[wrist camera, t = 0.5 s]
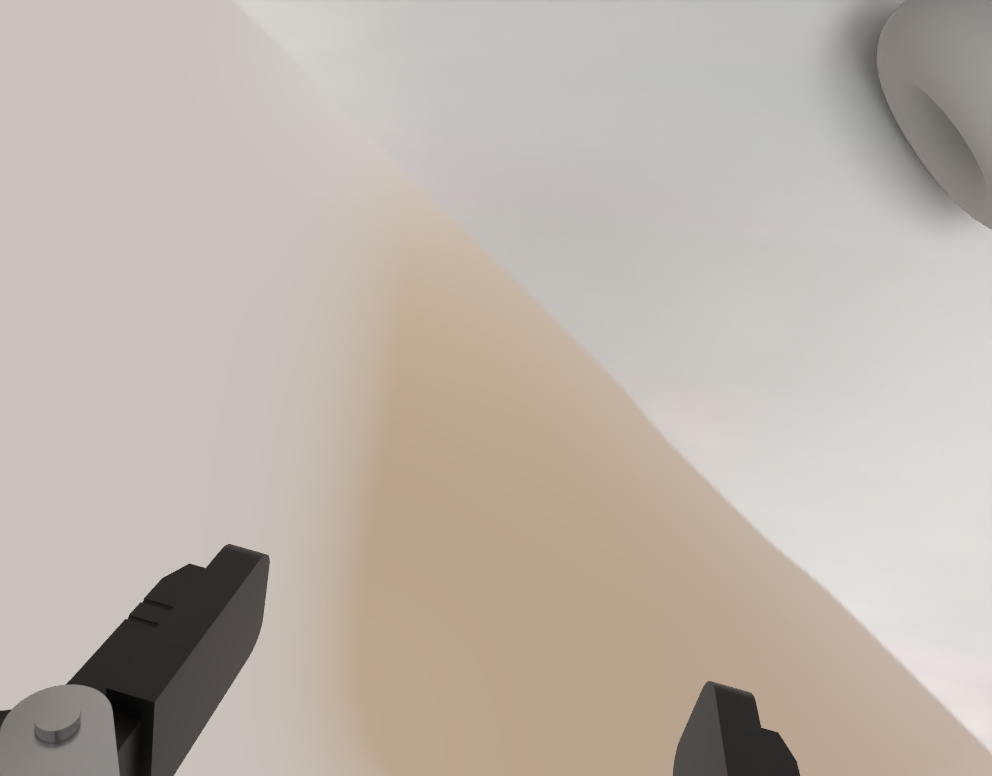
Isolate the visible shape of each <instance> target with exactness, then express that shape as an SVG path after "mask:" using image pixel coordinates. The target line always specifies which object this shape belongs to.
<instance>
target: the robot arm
mask: <svg viewBox="0 0 992 776" xmlns="http://www.w3.org/2000/svg"><path fill="white" fill-rule="evenodd" d="M269 563H270V561H269V556H268V555H266V554H263V553H259V552H256V551H252V550H249V549H245V548H242V547H238V546H234V545H231V544H228V545H226V546H224V547H223V548H222V550H221V551H220V552H219V553H218V554H217V555H216V557H215V558H214V559H213V560H212V561H211V563H210V564H209V565H208V566H207V567H206V568H203V567H199V566H196V565H192V564H188V565H186V566H184V567H182V568H180V569H179V570H177V571H175V572H173V573H171V574H169V575H168V576H166V577H164V578H162V579H161V580H160V581H159V583H158V584H157V585H156V586H155V587H154V588H153V589H152V590H151V591H150V593H149V594H148V595H147V596H146V597H145V598H144V601H143V603H140V604H139V605H138V606H137V607H136V608H135V609H134V610H133V611H132V612H131V614H130V615H129V618H128V619H127V620H126V619H125V620H124V621H123V622H122V624H121V625H120V626H119V627H118V628H117V629H116V630H115V631H114V632H113V634H112V635H111V636H110V637H109V638H108V639H107V640H106V641H105V642H104V643H103V645H102V646H101V647H100V648H99V649H98V650H97V651H96V652H95V654H94V655H93V656H92V657H91V658H90V659H89V660H88V661H87V662H86V663H85V665H84V666H83V667H82V668H81V669H80V670H79V671H78V672H77V673H76V674H75V676H74V677H73V678H72V679H71V680H70V681H69V682H68V683H67V684H66V685H60V686H54V687H50V688H46V689H44V690H41V691H38V692H36V693H34V694H32V695H30V696H28V697H27V698H25V699H24V700H22V701H21V702H20V703H18V704H17V705H16V706H15V707H14V708H13V709H12V710H5V711H0V776H174V774H175V773H176V771H177V769H178V768H179V766H180V765H181V763H182V761H183V760H184V758H185V757H186V755H187V754H188V752H189V750H190V749H191V747H192V745H193V744H194V743H195V741H196V739H197V738H198V736H199V735H200V733H201V731H202V730H203V728H204V727H205V725H206V724H207V722H208V721H209V719H210V717H211V716H212V714H213V713H214V711H215V710H216V708H217V706H218V705H219V703H220V702H221V700H222V699H223V697H224V695H225V694H226V692H227V691H228V689H229V688H230V686H231V684H232V682H233V681H234V679H235V678H236V676H237V675H238V673H239V672H240V670H241V669H242V667H243V665H244V664H245V662H246V661H247V659H248V658H249V656H250V654H251V652H252V650H253V648H254V646H255V644H256V641H257V639H258V636H259V633H260V629H261V626H262V621H263V614H264V605H265V597H266V589H267V580H268V572H269ZM673 776H800V773H799V769H798V766H797V761H796V760H795V758H794V757H793V755H792V754H791V752H790V750H789V749H788V747H787V746H786V744H785V743H784V741H783V739H782V738H781V736H780V735H779V733H778V732H774V731H771V730H767V729H764V728H761V725H760V720H759V715H758V711H757V706H756V702H755V698H754V696H753V695H752V693H750V692H747V691H743V690H740V689H736V688H733V687H729V686H725V685H722V684H718V683H715V682H711V681H708V682H707V683H706V684H705V685H704V687H703V689H702V691H701V693H700V696H699V698H698V700H697V702H696V705H695V707H694V709H693V711H692V714H691V716H690V718H689V721H688V723H687V725H686V727H685V730H684V732H683V734H682V737H681V739H680V741H679V744H678V747H677V751H676V755H675V761H674V769H673Z"/></svg>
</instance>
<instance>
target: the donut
mask: <svg viewBox="0 0 992 776" xmlns="http://www.w3.org/2000/svg"><path fill="white" fill-rule="evenodd" d="M877 69H878V74H879V79H880V83H881V87H882V91H883V93H884V95H885V98H886V100H887V103H888V105H889V107H890V110H891V112H892V114H893V116H894V118H895V119H896V121H897V123H898V125H899V127H900V129H901V130H902V132H903V134H904V136H905V137H906V139H907V140H908V142H909V144H910V145H911V147H912V148H913V150H914V151H915V153H916V154H917V156H918V157H919V159H920V160H921V162H922V163H923V164H924V166H925V167H926V168H927V169H928V171H929V172H930V173H931V175H932V176H933V177H934V179H935V180H936V181H937V182H938V184H939V185H940V186H941V187H942V188H943V189H944V190H945V191H946V192H947V193H948V195H949V196H950V197H951V198H952V199H953V200H954V201H955V202H956V203H957V204H958V205H959V206H960V207H961V208H962V209H963V210H965V211H966V212H967V213H968V214H969V215H970V216H971V217H973V218H974V219H975V220H977V221H979V222H980V223H982V224H983V225H985V226H987V227H988V228H990V229H992V0H906V1H905V2H904V3H903V4H902V5H901V6H900V7H899V8H898V9H897V10H895V11H894V12H893V13H892V14H891V15H890V17H889V18H888V20H887V22H886V23H885V25H884V27H883V28H882V30H881V34H880V38H879V42H878V49H877Z"/></svg>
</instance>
